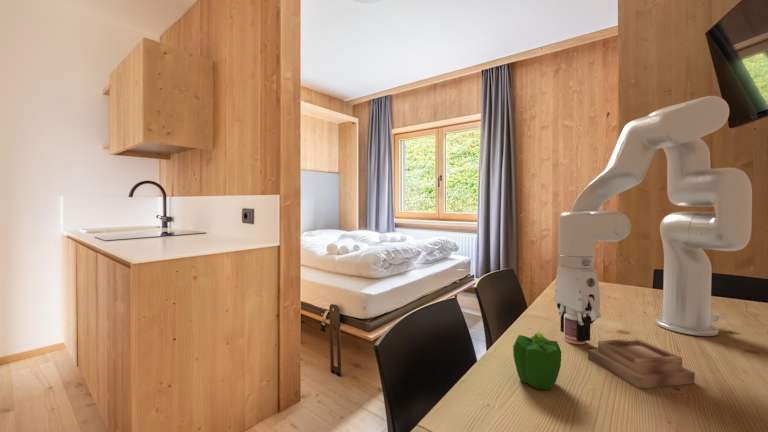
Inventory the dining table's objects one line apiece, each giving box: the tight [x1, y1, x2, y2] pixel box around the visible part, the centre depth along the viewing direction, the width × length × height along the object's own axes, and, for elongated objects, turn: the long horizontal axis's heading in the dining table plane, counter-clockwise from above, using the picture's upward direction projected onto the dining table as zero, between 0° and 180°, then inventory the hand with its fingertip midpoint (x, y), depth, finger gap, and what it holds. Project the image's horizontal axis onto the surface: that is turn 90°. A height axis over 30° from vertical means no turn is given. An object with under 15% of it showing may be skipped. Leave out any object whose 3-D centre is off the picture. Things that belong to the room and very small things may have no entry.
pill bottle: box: [563, 307, 587, 345], centre depth 81 cm, size 5×5×8 cm
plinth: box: [587, 337, 696, 390], centre depth 67 cm, size 12×12×4 cm
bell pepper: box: [512, 331, 562, 391], centre depth 62 cm, size 8×8×10 cm
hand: (574, 335), depth 81 cm, fingers closed on pill bottle, 4 cm apart
